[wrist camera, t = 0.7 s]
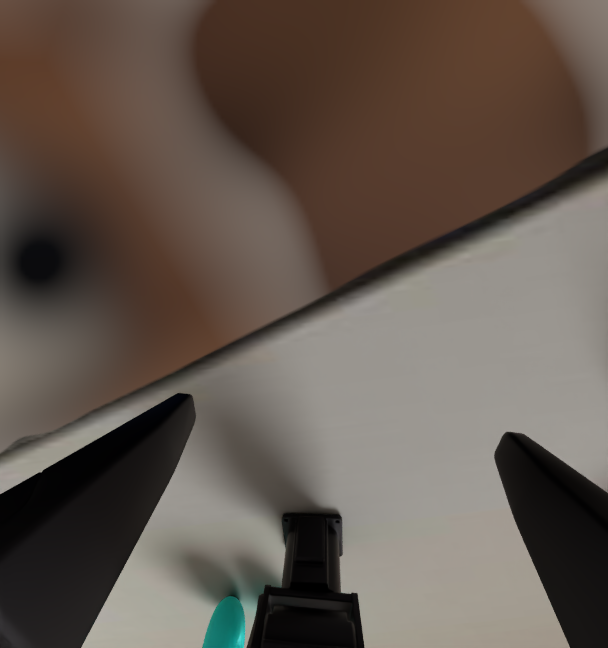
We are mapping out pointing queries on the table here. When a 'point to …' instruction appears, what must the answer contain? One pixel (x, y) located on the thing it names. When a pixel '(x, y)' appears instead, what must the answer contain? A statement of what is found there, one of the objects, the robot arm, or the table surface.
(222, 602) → the donuts
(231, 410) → the table surface
